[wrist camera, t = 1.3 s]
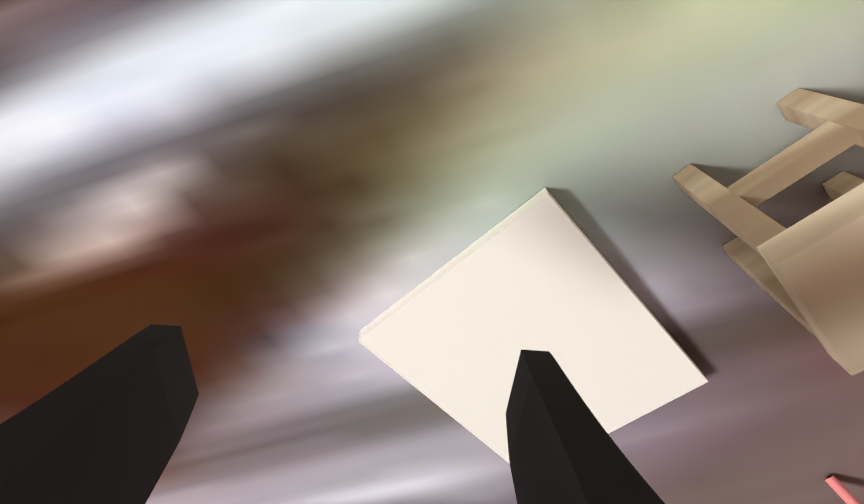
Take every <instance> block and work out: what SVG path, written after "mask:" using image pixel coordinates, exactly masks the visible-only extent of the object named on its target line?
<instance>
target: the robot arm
mask: <svg viewBox="0 0 864 504" xmlns="http://www.w3.org/2000/svg"><path fill="white" fill-rule="evenodd" d="M198 395H199V394H198V390H197V386H196V382H195V378H194V375H193V371H192V367H191V363H190V359H189V356H188V352H187V348H186V344H185V340H184V337H183V333H182V329H181V326H168V325H153V324H151V325H150V326H148V327H147V328H145V329H143V330H142V331H140V332H139V333H137V334H136V335H134V336H133V337H131V338H130V339H128V340H127V341H125V342H124V343H122V344H121V345H119V346H118V347H116V348H115V349H113V350H112V351H111V352H109V353H108V354H106V355H105V356H103V357H102V358H100V359H99V360H98V361H96V362H95V363H93V364H92V365H90V366H89V367H87V368H86V369H84V370H83V371H81V372H80V373H78V374H77V375H75V376H74V377H72V378H71V379H70V380H68V381H67V382H65V383H64V384H62V385H61V386H59V387H58V388H56V389H55V390H53V391H52V392H50V393H49V394H47V395H46V396H44V397H43V398H41V399H40V400H38V401H37V402H35V403H33V404H32V405H30V406H29V407H27V408H25V409H24V410H22V411H21V412H19V413H18V414H16V415H14V416H13V417H11V418H10V419H8V420H6V421H5V422H3V423H2V424H0V504H145V503H146V501H147V499H148V498H149V496H150V494H151V492H152V490H153V489H154V487H155V485H156V483H157V482H158V480H159V478H160V476H161V474H162V473H163V471H164V469H165V467H166V465H167V463H168V462H169V460H170V458H171V456H172V454H173V453H174V451H175V449H176V447H177V445H178V443H179V441H180V439H181V437H182V435H183V432H184V430H185V427H186V425H187V423H188V420H189V418H190V415H191V413H192V410H193V407H194V405H195V402H196V400H197V397H198ZM505 414H506V427H507V441H508V452H509V461H510V467H511V472H512V478H513V483H514V488H515V493H516V499H517V504H665V503H664V502H663V501H662V500H661V499H660V497H659V496H658V495H657V494H656V493H655V492H654V490H653V489H652V488H651V487H650V486H649V485H648V483H647V482H646V481H645V480H644V479H643V477H642V476H641V475H640V474H639V473H638V471H637V470H636V469H635V468H634V466H633V465H632V464H631V463H630V462H629V460H628V459H627V458H626V457H625V455H624V454H623V453H622V452H621V450H620V449H619V448H618V446H617V445H616V444H615V443H614V441H613V440H612V439H611V437H610V436H609V435H608V433H607V432H606V431H605V429H604V428H603V427H602V425H601V424H600V423H599V421H598V420H597V419H596V417H595V416H594V415H593V413H592V412H591V410H590V409H589V408H588V406H587V405H586V403H585V402H584V401H583V399H582V398H581V396H580V395H579V393H578V392H577V391H576V389H575V388H574V386H573V385H572V383H571V382H570V380H569V379H568V377H567V376H566V374H565V373H564V371H563V370H562V369H561V367H560V366H559V364H558V363H557V361H556V360H555V358H554V357H553V355H552V354H551V353H550V352H549V351H537V350H522V349H521V352H520V356H519V360H518V364H517V368H516V372H515V377H514V381H513V385H512V389H511V393H510V397H509V401H508V405H507V409H506V413H505Z"/></svg>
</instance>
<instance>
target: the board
mask: <svg viewBox="0 0 864 504" xmlns="http://www.w3.org/2000/svg"><path fill="white" fill-rule="evenodd" d="M358 341H359V342H360V343H361V344H362V345H364V346H365V347H366V348H367V349H369V350H370V351H371V352H372V353H374V354H375V355H376V356H377V357H379V358H380V359H381V360H382V361H383V362H385V363H386V364H387V365H388V366H390V367H391V368H392V369H393V370H395V371H396V372H397V373H398V374H400V375H401V376H402V377H403V378H404V379H406V380H407V381H408V382H409V383H411V384H412V385H413V386H414V387H416V388H417V389H418V390H419V391H421V392H422V393H423V394H424V395H425V396H427V397H428V398H429V399H430V400H432V401H433V402H434V403H435V404H437V405H438V406H439V407H440V408H442V409H443V410H444V411H445V412H446V413H448V414H449V415H450V416H451V417H453V418H454V419H455V420H456V421H458V422H459V423H460V424H461V425H463V426H464V427H465V428H466V429H468V430H469V431H470V432H471V433H472V434H474V435H475V436H476V437H477V438H479V439H480V440H481V441H482V442H484V443H485V444H486V445H487V446H489V447H490V448H491V449H492V450H493V451H495V452H496V453H497V454H498V455H500V456H501V457H502V458H503V459H505V460H506V461H507V462H508V463H510V461H509V452H508V441H507V427H506V414H505V413H506V409H507V405H508V401H509V397H510V393H511V389H512V385H513V381H514V377H515V372H516V368H517V364H518V360H519V356H520V352H521V349H522V350H537V351H549V352H550V353H551V354H552V355H553V357H554V358H555V360H556V361H557V363H558V364H559V366H560V367H561V369H562V370H563V371H564V373H565V374H566V376H567V377H568V379H569V380H570V382H571V383H572V385H573V386H574V388H575V389H576V391H577V392H578V393H579V395H580V396H581V398H582V399H583V401H584V402H585V403H586V405H587V406H588V408H589V409H590V410H591V412H592V413H593V415H594V416H595V417H596V419H597V420H598V421H599V423H600V424H601V425H602V427H603V428H604V429H605V431H606V432H607V433H610V432H612V431H614V430H616V429H618V428H620V427H622V426H624V425H626V424H628V423H630V422H631V421H633V420H635V419H637V418H639V417H641V416H643V415H645V414H647V413H649V412H651V411H653V410H655V409H656V408H658V407H660V406H662V405H664V404H666V403H668V402H670V401H672V400H674V399H676V398H678V397H680V396H681V395H683V394H685V393H687V392H689V391H691V390H693V389H695V388H697V387H699V386H701V385H703V384H705V383H706V382H708V381H707V379H706V378H705V376H704V375H703V373H702V372H701V370H700V369H699V368H698V367H697V366H696V364H695V363H694V362H693V361H692V360H691V359H690V357H689V356H688V355H687V354H686V353H685V352H684V350H683V349H682V348H681V347H680V346H679V345H678V343H677V342H676V341H675V340H674V339H673V337H672V336H671V335H670V334H669V333H668V332H667V330H666V329H665V328H664V327H663V326H662V325H661V323H660V322H659V321H658V320H657V319H656V317H655V316H654V315H653V314H652V313H651V312H650V310H649V309H648V308H647V307H646V306H645V305H644V303H643V302H642V301H641V300H640V299H639V298H638V296H637V295H636V294H635V293H634V292H633V290H632V289H631V288H630V287H629V286H628V285H627V283H626V282H625V281H624V280H623V279H622V278H621V276H620V275H619V274H618V273H617V272H616V270H615V269H614V268H613V267H612V266H611V265H610V263H609V262H608V261H607V260H606V259H605V258H604V256H603V255H602V254H601V253H600V252H599V251H598V249H597V248H596V247H595V246H594V245H593V243H592V242H591V241H590V240H589V239H588V238H587V236H586V235H585V234H584V233H583V232H582V231H581V229H580V228H579V227H578V226H577V225H576V223H575V222H574V221H573V220H572V219H571V218H570V216H569V215H568V214H567V213H566V212H565V211H564V209H563V208H562V207H561V206H560V205H559V204H558V202H557V201H556V200H555V199H554V198H553V196H552V195H551V194H550V193H549V192H548V191H547V189H546V188H544V189H542V190H541V191H540V192H538V193H537V194H536V195H535V196H533V197H532V198H531V199H529V200H528V201H527V202H526V203H524V204H523V205H522V206H520V207H519V208H518V209H516V210H515V211H514V212H513V213H511V214H510V215H509V216H507V217H506V218H505V219H504V220H502V221H501V222H500V223H498V224H497V225H496V226H494V227H493V228H492V229H491V230H489V231H488V232H487V233H485V234H484V235H483V236H482V237H480V238H479V239H478V240H476V241H475V242H474V243H472V244H471V245H470V246H469V247H467V248H466V249H465V250H463V251H462V252H461V253H460V254H458V255H457V256H456V257H454V258H453V259H452V260H451V261H449V262H448V263H447V264H445V265H444V266H443V267H441V268H440V269H439V270H438V271H436V272H435V273H434V274H432V275H431V276H430V277H429V278H427V279H426V280H425V281H423V282H422V283H421V284H419V285H418V286H417V287H416V288H414V289H413V290H412V291H410V292H409V293H408V294H407V295H405V296H404V297H403V298H401V299H400V300H399V301H397V302H396V303H395V304H394V305H392V306H391V307H390V308H388V309H387V310H386V311H385V312H383V313H382V314H381V315H379V316H378V317H377V318H376V319H374V320H373V321H372V322H370V323H369V324H368V325H366V326H365V327H364V328H363V329H361V330H360V334H359V338H358Z"/></svg>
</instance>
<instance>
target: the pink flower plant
mask: <svg viewBox="0 0 864 504" xmlns="http://www.w3.org/2000/svg"><path fill="white" fill-rule="evenodd" d="M825 481H826V482H827V483H828V484H829V485H830V486H831V488H832V489H833V490H834V491H835V492H836V493H837V494H838V495H839V496H840V497H841V498H842V499H843V500H844V501H845V502H846V503H847V504H861V503H860V502H859V501H858V500H857V499H856V498H855V497H854V496H853V495H852V494H851V493H850V492H849V491H848V490H847V489H846V488H845V487H844V486H843V485H842V484H841V483H840V482H839V481H838V480H837V478H836V477H835V476H832V477H830V478H828V479H827V480H825Z"/></svg>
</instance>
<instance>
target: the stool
mask: <svg viewBox="0 0 864 504" xmlns="http://www.w3.org/2000/svg"><path fill="white" fill-rule="evenodd" d="M777 105H778V107H779V109H780V110H781V112H782V114H783V116H784V118H785V119H786V120H788V121H791V122H793V123H796V124H799V125H802V126H805V127H807V128H810V129H813V131H812V132H810V133H809V134H807V135H806V136H804V137H803V138H801V139H800V140H798V141H797V142H795V143H794V144H792V145H791V146H789V147H788V148H786V149H785V150H783V151H782V152H780V153H779V154H777V155H776V156H774V157H773V158H771V159H770V160H768V161H767V162H765V163H763V164H762V165H760V166H759V167H757V168H756V169H754V170H753V171H751V172H750V173H748V174H747V175H745V176H744V177H742V178H741V179H739V180H738V181H736V182H735V183H733V184H732V185H730V186H729V187H727V188H726V187H724V186H723V185H721V184H720V183H718V182H717V181H715V180H714V179H712V178H711V177H710V176H708V175H707V174H705V173H704V172H702V171H701V170H699V169H698V168H696V167H695V166H693V165H692V164H690V165H688V166H687V167H685V168H684V169H682V170H681V171H680V172H678V173H677V174H675V175H674V176H672V177H673V179H674V180H675V182H676V183H677V184H678V186H679V187H680V189H681V190H682V191H683V192H684V193H685V194H687V195H688V196H689V197H690V198H691V199H693V200H694V201H695V202H696V203H698V204H699V205H700V206H701V207H702V208H704V209H705V210H706V211H707V212H709V213H710V214H711V215H712V216H713V217H715V218H716V219H717V220H718V221H720V222H721V223H722V224H723V225H724V226H726V227H727V228H728V229H729V230H731V231H732V232H733V233H734V234H735V235H737V236H738V237H736V238H734V239H733V240H731V241H729V242H728V243H726V244H725V245H723V246H722V248H723V249H724V250H725V252H726V253H727V255H728V256H729V257H730V259H731V260H733V261H734V262H735V263H736V264H737V265H738V266H739V267H740V268H741V269H742V270H743V271H744V272H746V273H747V274H748V275H749V276H750V277H751V278H752V279H753V280H754V281H755V282H756V283H758V284H759V285H760V286H761V287H762V288H763V289H764V290H765V291H766V292H767V293H768V294H770V295H771V296H772V297H773V298H774V299H775V300H776V301H777V302H778V303H779V304H780V305H781V306H783V307H784V308H785V309H786V310H787V311H788V312H789V313H790V314H791V315H792V316H793V317H795V318H796V319H797V320H798V321H799V322H800V323H801V324H802V325H803V326H804V327H805V328H807V329H808V330H809V331H810V332H811V333H812V334H813V335H814V336H815V337H816V338H817V339H819V341H820V342H821V344H822V345H823V347H824V348H825V350H826V351H827V353H828V354H829V355H830V356H831V357H832V358H833V359H834V360H836V361H837V362H838V363H839V364H840V365H841V366H842V367H843V368H844V369H845V370H846V371H847V372H848V373H850V374H851V375H852V376H853V375H855V374H857V373H859V372H861V371H863V370H864V180H863V179H860V178H858V177H856V176H853V175H851V174H849V173H846V172H844V171H842V172H841V173H839V174H837V175H836V176H834V177H833V178H831V179H829V180H828V181H826V182H825V183H823V184H822V185H823V186H824V188H825V190H826V192H827V194H828V195H829V197H830V198H831V199H833V200H834V201H832V202H831V203H829V204H827V205H826V206H824V207H822V208H821V209H819V210H817V211H816V212H814V213H812V214H811V215H809V216H807V217H806V218H804V219H802V220H801V221H799V222H797V223H796V224H794V225H792V226H791V227H789V228H787V229H786V228H785V227H783V226H782V225H780V224H779V223H777V222H776V221H774V220H773V219H772V218H770V217H769V216H767V215H766V214H764V213H763V212H761V211H760V210H758V209H757V208H755V207H757V206H758V205H760V204H761V203H763V202H764V201H766V200H768V199H769V198H771V197H772V196H774V195H776V194H777V193H779V192H780V191H782V190H783V189H785V188H787V187H788V186H790V185H791V184H793V183H794V182H796V181H798V180H799V179H801V178H802V177H804V176H805V175H807V174H809V173H810V172H812V171H813V170H815V169H817V168H818V167H820V166H821V165H823V164H824V163H826V162H828V161H829V160H831V159H832V158H834V157H835V156H837V155H839V154H840V153H842V152H843V151H845V150H846V149H848V148H850V147H851V146H853V145H854V144H855V145H858V146H861V147H864V104H860V103H856V102H852V101H848V100H844V99H840V98H836V97H832V96H828V95H824V94H820V93H816V92H812V91H808V90H804V89H800V88H798V89H796V90H795V91H794V92H792V93H791V94H789V95H788V96H786V97H785V98H784V99H782V100H781V101H779V102H778V103H777Z"/></svg>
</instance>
